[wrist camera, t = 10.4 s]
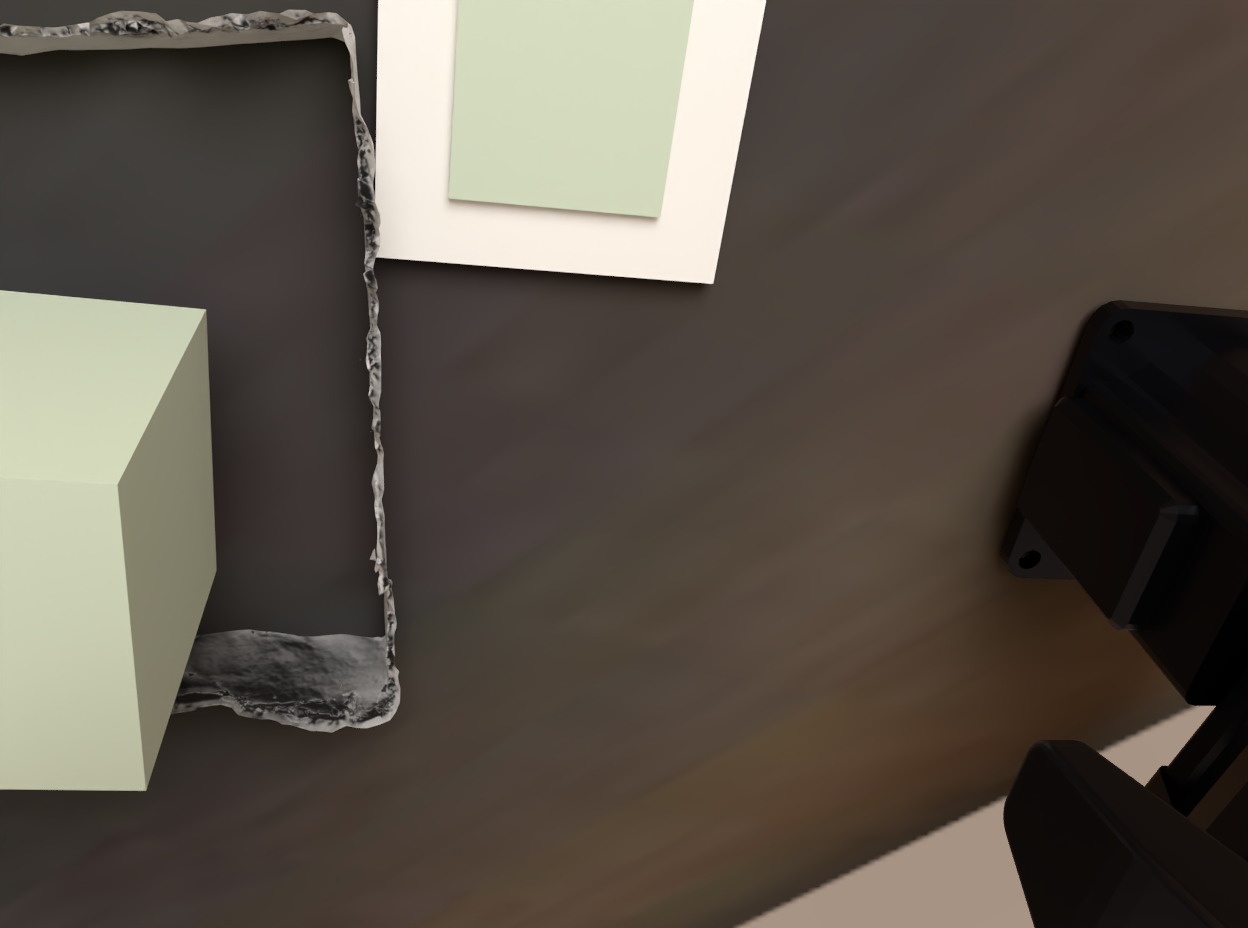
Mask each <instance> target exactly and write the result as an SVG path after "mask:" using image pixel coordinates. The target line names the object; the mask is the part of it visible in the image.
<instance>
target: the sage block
mask: <svg viewBox="0 0 1248 928" xmlns="http://www.w3.org/2000/svg"><path fill="white" fill-rule="evenodd" d="M216 571H217V568H216V543H215V518H214V493H213V468H212V443H211V418H210V393H209V368H208V342H207V317H206V309H195V308H185V307H174V306H163V305H152V304H142V303H131V302H120V301H109V300H99V299H88V298H77V297H66V296H56V295H45V294H34V293H23V292H13V291H2V290H0V789H20V790H117V791H146V789H147V786H148V783H149V780H150V777H151V774H152V770H153V767H154V764H155V761H156V758H157V755H158V752H159V749H160V746H161V742H162V739H163V736H164V733H165V730H166V727H167V724H168V721H169V717H170V714H171V711H172V708H173V705H174V702H175V699H176V696H177V692H178V689H179V686H180V683H181V680H182V677H183V674H184V671H185V667H186V664H187V661H188V658H189V655H190V652H191V649H192V646H193V642H194V639H195V636H196V633H197V630H198V627H199V624H200V621H201V618H202V614H203V611H204V608H205V605H206V602H207V599H208V596H209V593H210V589H211V586H212V583H213V580H214V577H215V574H216Z"/></svg>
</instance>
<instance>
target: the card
mask: <svg viewBox="0 0 1248 928" xmlns="http://www.w3.org/2000/svg"><path fill="white" fill-rule="evenodd" d="M765 4H766V0H378V50H377V113H376V175H375V203H376V206H377V209H378V211H379V214H380V222H381V224H380V227H379V232H380V247H379V250H378V252H377V255H376V257H379V258H392V259H404V260H417V261H430V262H442V263H455V264H468V265H480V266H493V267H505V268H518V269H531V270H543V271H556V272H569V273H581V274H594V275H606V276H619V277H632V278H644V279H657V280H670V281H682V282H695V283H707V284H713V282H714V277H715V271H716V266H717V261H718V255H719V250H720V245H721V239H722V234H723V228H724V223H725V218H726V212H727V207H728V202H729V196H730V191H731V186H732V180H733V175H734V170H735V164H736V159H737V154H738V148H739V143H740V138H741V132H742V127H743V122H744V116H745V111H746V106H747V100H748V95H749V90H750V84H751V79H752V74H753V68H754V63H755V58H756V52H757V47H758V42H759V36H760V31H761V26H762V20H763V15H764V10H765Z"/></svg>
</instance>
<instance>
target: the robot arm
mask: <svg viewBox="0 0 1248 928" xmlns="http://www.w3.org/2000/svg"><path fill="white" fill-rule="evenodd" d="M1119 321H1123V325H1122V327H1121V328H1120V329H1119V331H1117V332H1116V333H1114V334H1113V335H1109V332H1110V330H1111V328H1112V327H1113V326H1114V325H1115V324H1116V323H1118V322H1119ZM1028 551H1031V552H1030V553H1029V554H1028V555H1027V556H1025V557H1024V558H1020V557H1021V556H1022V555H1023V554H1024V553H1026V552H1028ZM1000 556H1001V559H1002V562H1003V563H1004V564H1005V566H1006V567H1007V569H1008V570H1009V571H1010V572H1011V573H1012V574H1013V575H1014V576H1016V577H1021V578H1045V579H1075V580H1076V581H1077V583H1078V584H1079V585H1080V586H1081V588H1082V589H1083V590H1084V591H1085V593H1086V594H1087V595H1088V596H1089V598H1090V599H1091V600H1092V601H1093V603H1094V604H1095V605H1096V606H1097V608H1098V609H1099V610H1100V611H1101V612H1102V614H1103V615H1104V616H1105V617H1106V619H1107V620H1108V621H1109V622H1110V624H1111V625H1112V626H1113V627H1114V628H1116V629H1117V630H1128V631H1129V632H1130V633H1131V634H1132V636H1133V637H1134V638H1135V639H1136V641H1137V642H1138V643H1139V644H1140V645H1141V647H1142V648H1143V649H1144V650H1145V652H1146V653H1147V654H1148V655H1149V657H1150V658H1151V659H1152V660H1153V661H1154V663H1155V664H1156V665H1157V666H1158V668H1159V669H1160V670H1161V671H1162V672H1163V674H1164V675H1165V676H1166V677H1167V679H1168V680H1169V681H1170V682H1171V683H1172V685H1173V686H1174V687H1175V688H1176V690H1177V691H1178V692H1179V693H1180V694H1181V696H1182V697H1183V698H1184V699H1185V701H1186V702H1187V703H1188V704H1191V705H1195V706H1216V707H1215V708H1214V710H1213V711H1212V712H1211V713H1210V715H1209V716H1208V717H1207V718H1206V720H1205V721H1204V722H1203V723H1202V724H1201V726H1200V727H1199V728H1198V729H1197V731H1196V732H1195V733H1194V735H1193V736H1192V737H1191V738H1190V740H1189V741H1188V742H1187V743H1186V745H1185V746H1184V747H1183V748H1182V750H1181V751H1180V752H1179V753H1178V755H1177V756H1176V757H1175V758H1174V760H1173V761H1172V762H1171V763H1170V765H1169V766H1161V767H1160V768H1159V769H1158V770H1157V772H1156V773H1155V774H1154V775H1153V777H1152V778H1151V779H1150V781H1149V782H1148V783H1147V784H1146V786H1145V787H1144V786H1143V785H1141V784H1140V783H1139V782H1137V781H1136V780H1135V779H1133V778H1132V777H1130V776H1129V775H1128V774H1126V773H1125V772H1124V771H1122V770H1121V769H1119V768H1118V767H1117V766H1115V765H1114V764H1113V763H1111V762H1110V761H1108V760H1107V759H1106V758H1104V757H1103V756H1102V755H1100V754H1099V753H1098V752H1096V751H1095V750H1093V749H1092V748H1091V747H1089V746H1088V745H1086V744H1084V743H1082V742H1079V741H1074V740H1043V741H1039V742H1036V743H1035V744H1034V745H1033V746H1032V747H1030V749H1029V751H1028V752H1027V754H1026V757H1025V759H1024V761H1023V763H1022V765H1021V768H1020V770H1019V772H1018V774H1017V776H1016V779H1015V781H1014V783H1013V785H1012V787H1011V790H1010V792H1009V794H1008V796H1007V799H1006V801H1005V806H1004V814H1003V815H1004V818H1003V819H1004V827H1005V832H1006V835H1007V839H1008V842H1009V845H1010V848H1011V852H1012V855H1013V858H1014V862H1015V865H1016V868H1017V871H1018V875H1019V878H1020V881H1021V884H1022V888H1023V891H1024V894H1025V898H1026V901H1027V904H1028V908H1029V911H1030V914H1031V918H1032V921H1033V924H1034V927H1035V928H1248V311H1244V310H1231V309H1219V308H1207V307H1195V306H1183V305H1171V304H1158V303H1146V302H1134V301H1122V300H1119V301H1111V302H1109V303H1106V304H1104V305H1102V306H1101V307H1100V308H1099V309H1097V310H1096V311H1095V312H1094V313H1093V315H1092V316H1091V318H1090V320H1089V322H1088V324H1087V327H1086V329H1085V332H1084V334H1083V337H1082V340H1081V342H1080V345H1079V347H1078V350H1077V353H1076V355H1075V358H1074V360H1073V363H1072V366H1071V368H1070V371H1069V373H1068V376H1067V379H1066V381H1065V384H1064V386H1063V389H1062V392H1061V394H1060V397H1059V399H1058V402H1057V404H1056V405H1055V406H1054V407H1053V409H1052V412H1051V415H1050V417H1049V420H1048V422H1047V425H1046V428H1045V430H1044V433H1043V435H1042V438H1041V441H1040V443H1039V446H1038V448H1037V451H1036V454H1035V456H1034V459H1033V462H1032V464H1031V467H1030V469H1029V472H1028V475H1027V477H1026V480H1025V482H1024V485H1023V488H1022V490H1021V493H1020V496H1019V498H1018V501H1017V509H1016V511H1015V514H1014V517H1013V519H1012V522H1011V524H1010V527H1009V530H1008V532H1007V535H1006V537H1005V540H1004V543H1003V545H1002V548H1001V553H1000Z"/></svg>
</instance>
